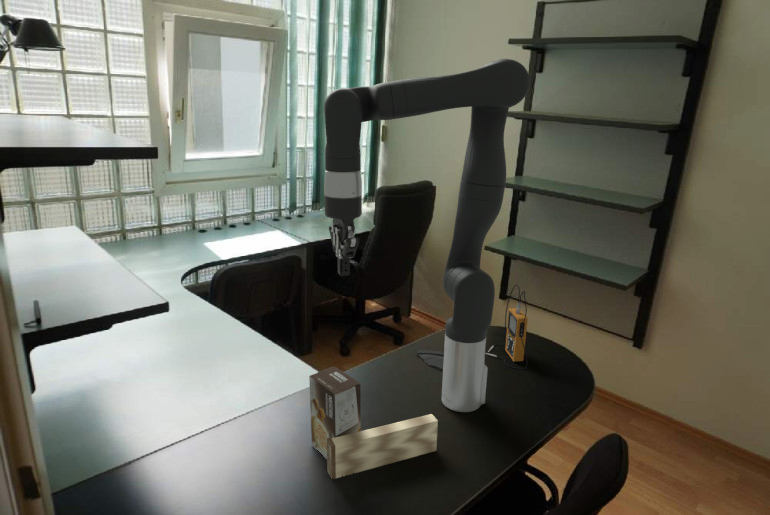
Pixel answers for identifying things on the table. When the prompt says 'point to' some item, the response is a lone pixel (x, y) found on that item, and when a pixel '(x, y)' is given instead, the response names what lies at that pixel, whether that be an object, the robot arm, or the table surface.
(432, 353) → the curved wedge
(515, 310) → the multimeter
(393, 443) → the board
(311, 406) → the coffee box
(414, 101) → the robot arm
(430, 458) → the table surface
